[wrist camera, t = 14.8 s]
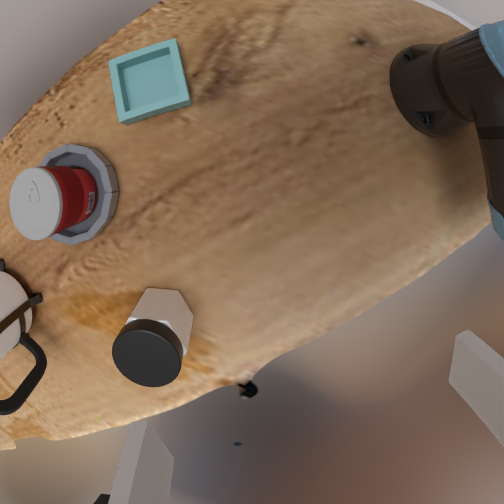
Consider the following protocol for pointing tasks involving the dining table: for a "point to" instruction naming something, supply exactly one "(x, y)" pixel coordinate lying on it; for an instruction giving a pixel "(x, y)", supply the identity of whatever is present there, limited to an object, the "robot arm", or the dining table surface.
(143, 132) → the dining table surface
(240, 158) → the dining table surface
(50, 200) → the canned food
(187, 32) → the dining table surface
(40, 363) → the coffee press
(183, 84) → the square tray
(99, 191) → the round gray bowl
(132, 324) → the jar
